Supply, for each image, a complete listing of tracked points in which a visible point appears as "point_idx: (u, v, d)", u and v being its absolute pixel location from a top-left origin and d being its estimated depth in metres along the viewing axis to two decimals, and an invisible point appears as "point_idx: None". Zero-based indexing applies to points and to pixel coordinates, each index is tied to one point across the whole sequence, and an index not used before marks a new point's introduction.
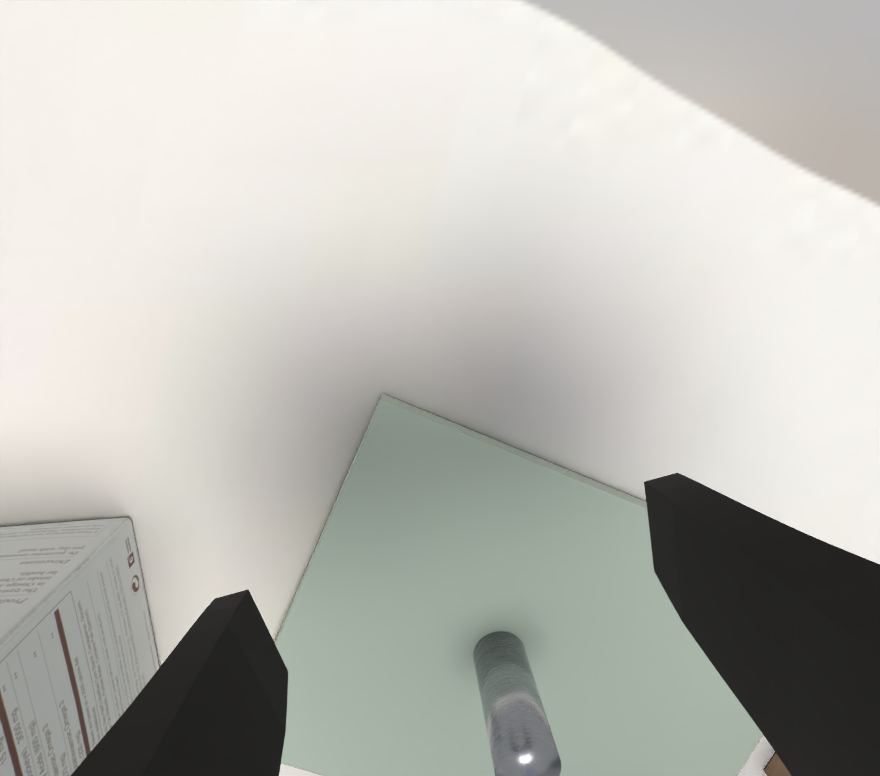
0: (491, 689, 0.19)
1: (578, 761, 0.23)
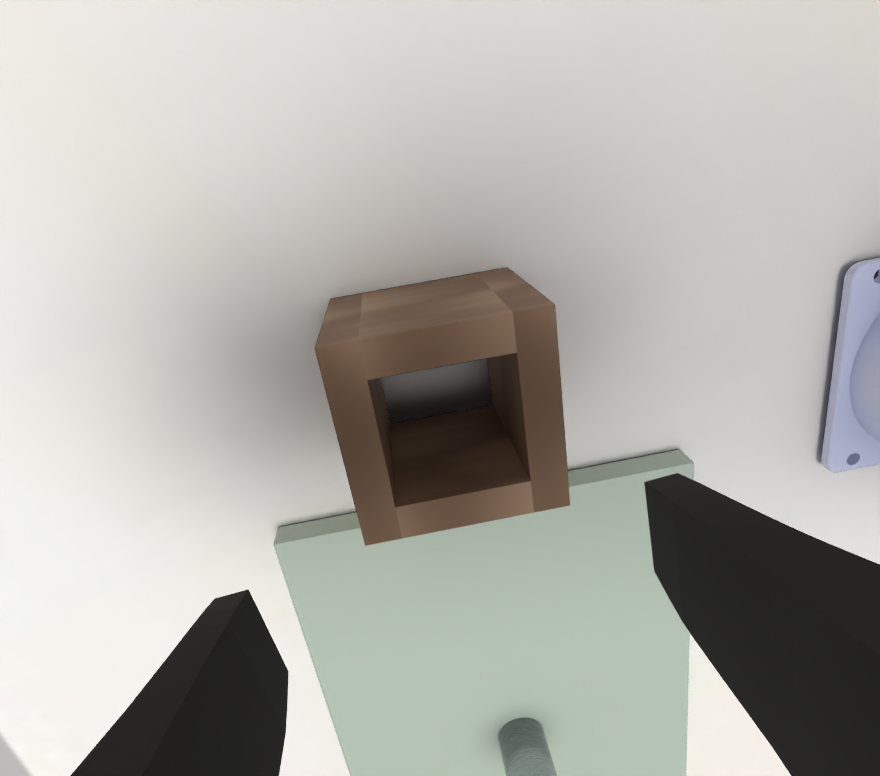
0: None
1: (590, 628, 0.22)
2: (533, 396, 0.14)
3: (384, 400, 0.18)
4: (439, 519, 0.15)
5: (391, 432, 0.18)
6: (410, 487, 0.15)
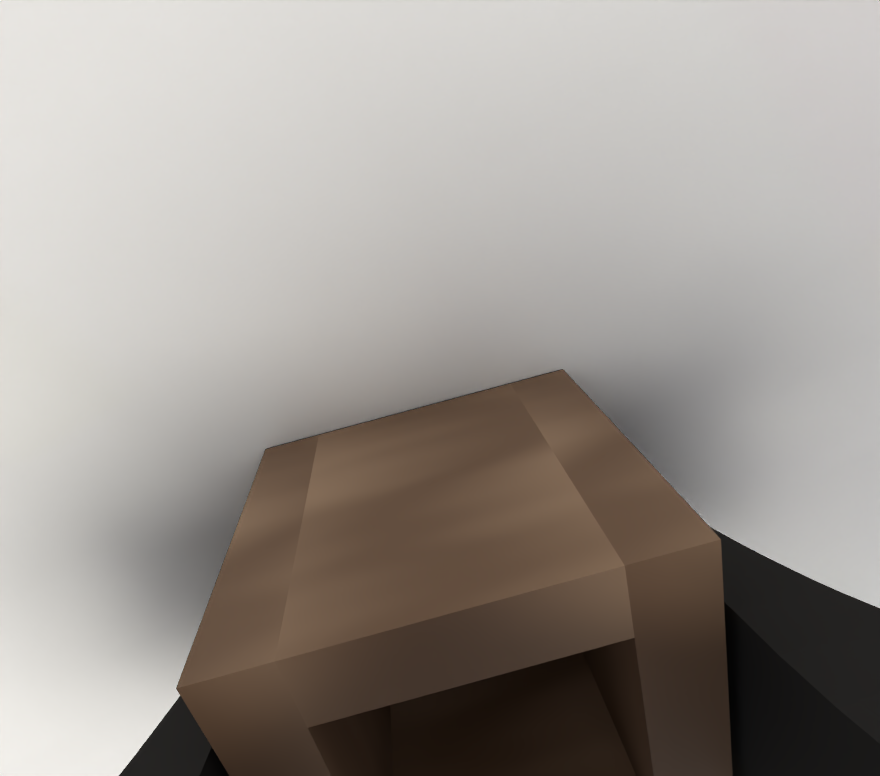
0: None
1: None
2: (671, 706, 0.06)
3: None
4: None
5: None
6: None
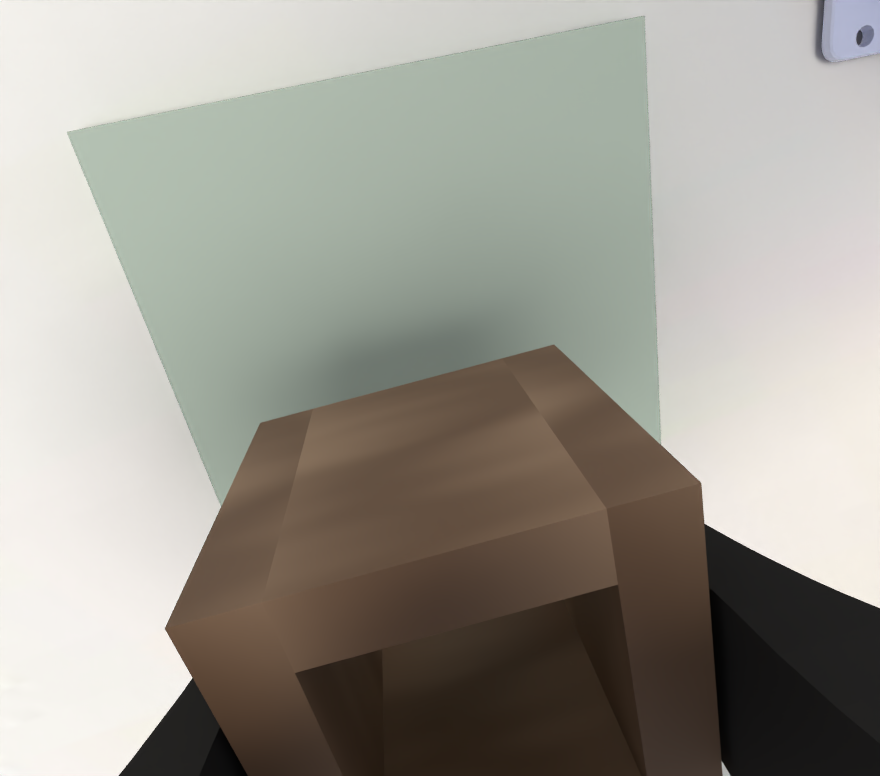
0: None
1: (523, 301, 0.17)
2: (655, 659, 0.06)
3: None
4: None
5: None
6: None
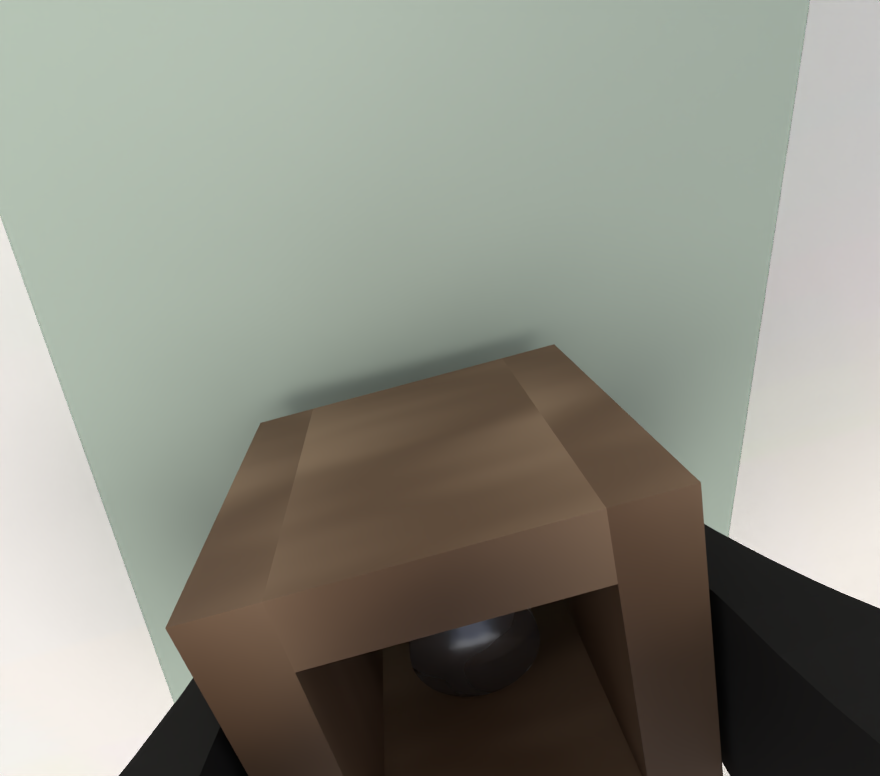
0: None
1: (585, 238, 0.11)
2: (654, 657, 0.06)
3: None
4: None
5: None
6: None
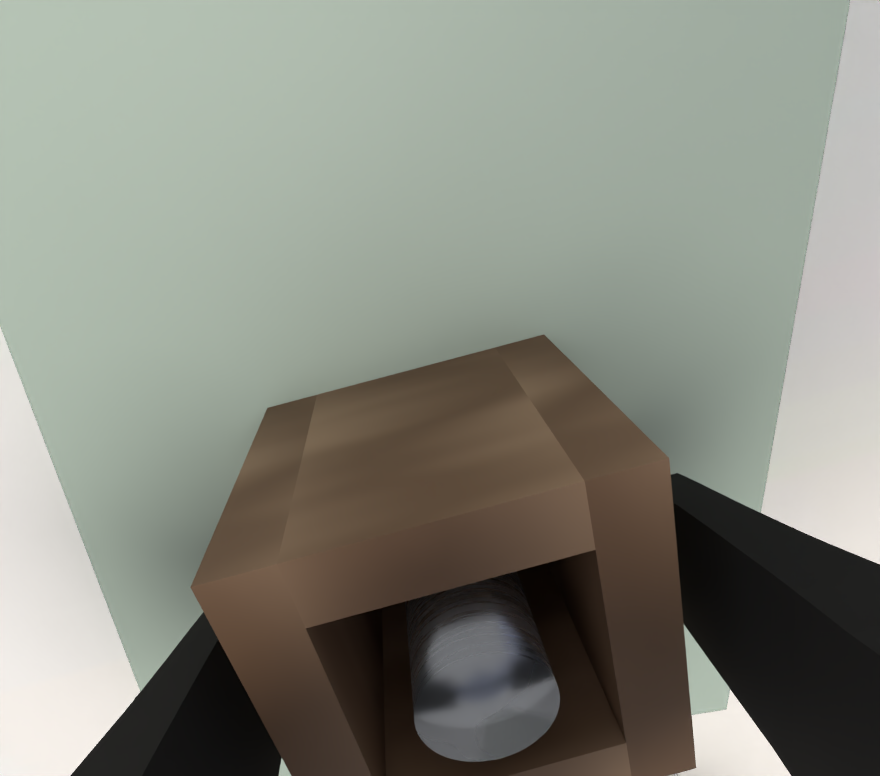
0: None
1: (604, 245, 0.10)
2: (629, 618, 0.07)
3: None
4: None
5: None
6: (412, 747, 0.09)
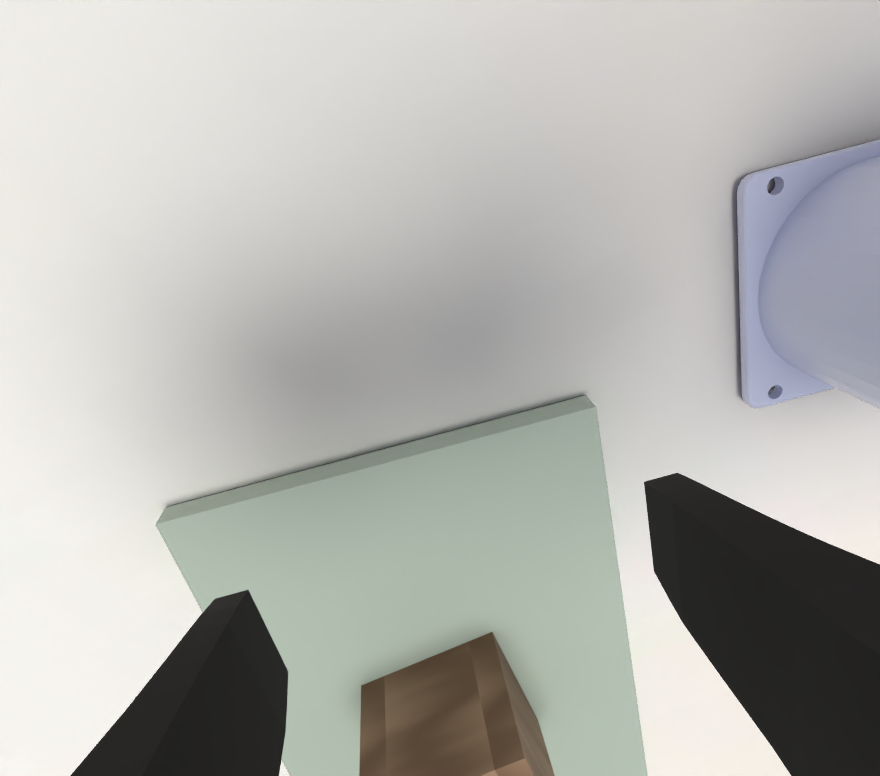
0: None
1: (513, 593, 0.21)
2: None
3: None
4: None
5: None
6: None
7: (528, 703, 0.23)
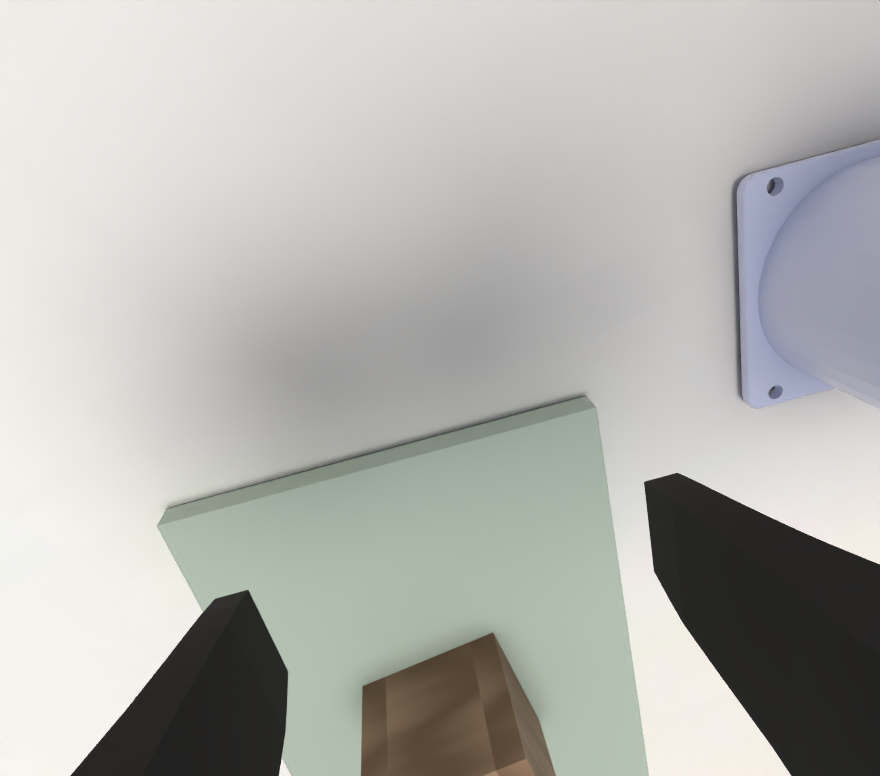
0: None
1: (514, 593, 0.21)
2: None
3: None
4: None
5: None
6: None
7: (529, 703, 0.23)
